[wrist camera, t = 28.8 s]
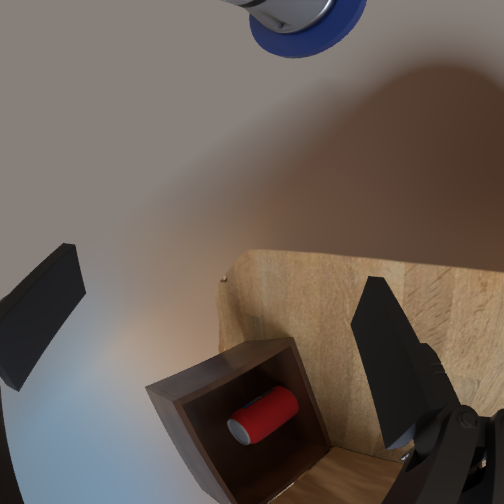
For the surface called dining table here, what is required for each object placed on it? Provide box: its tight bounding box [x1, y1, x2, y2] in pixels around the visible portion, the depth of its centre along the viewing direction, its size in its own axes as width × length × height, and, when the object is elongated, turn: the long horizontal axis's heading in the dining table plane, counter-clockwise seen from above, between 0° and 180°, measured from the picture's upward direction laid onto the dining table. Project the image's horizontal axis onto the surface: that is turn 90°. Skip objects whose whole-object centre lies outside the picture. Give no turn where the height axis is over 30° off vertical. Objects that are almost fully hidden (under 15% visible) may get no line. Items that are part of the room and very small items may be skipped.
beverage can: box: [227, 386, 299, 445], centre depth 43 cm, size 7×7×12 cm
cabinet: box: [145, 337, 332, 504], centre depth 41 cm, size 14×24×22 cm, turn 29°
